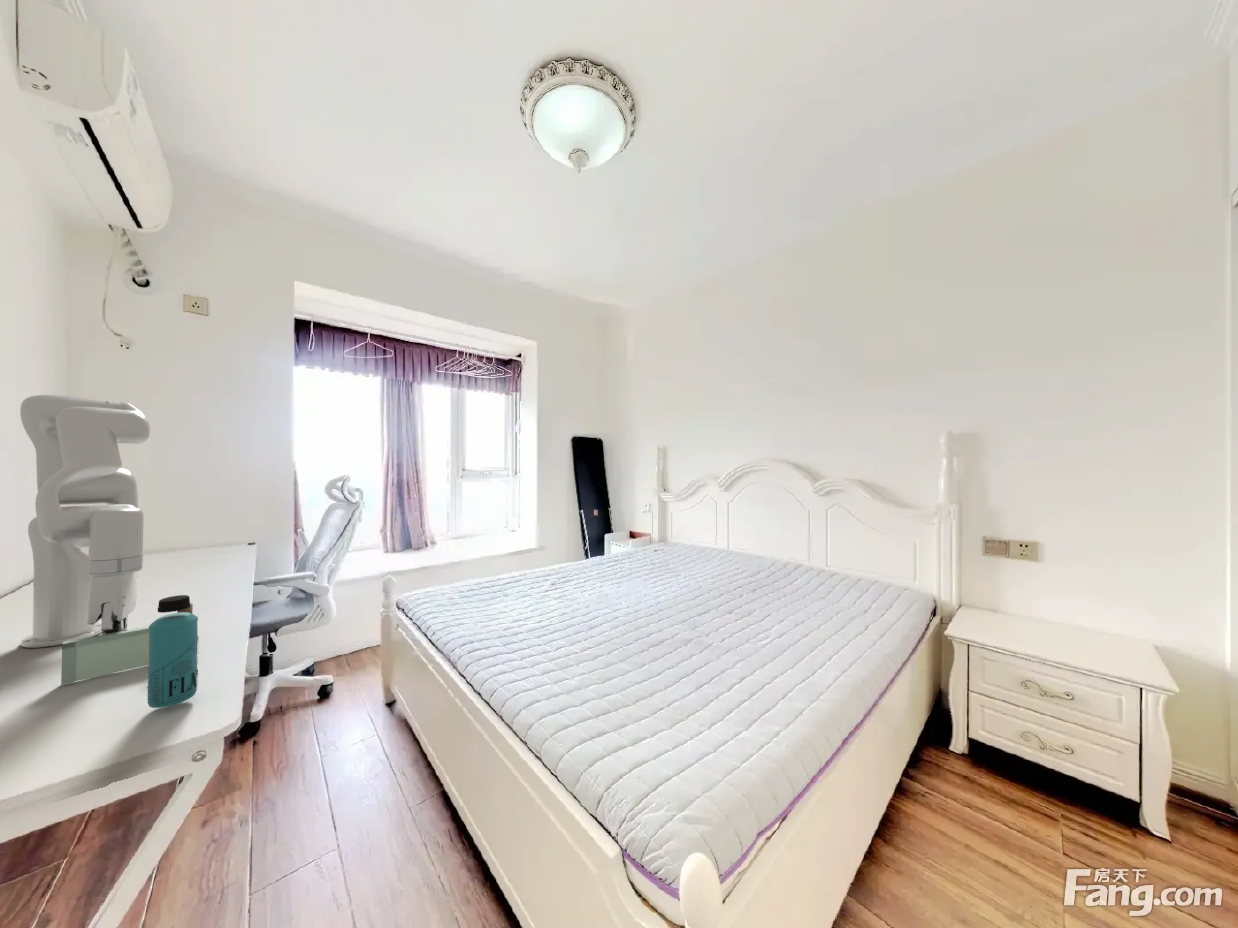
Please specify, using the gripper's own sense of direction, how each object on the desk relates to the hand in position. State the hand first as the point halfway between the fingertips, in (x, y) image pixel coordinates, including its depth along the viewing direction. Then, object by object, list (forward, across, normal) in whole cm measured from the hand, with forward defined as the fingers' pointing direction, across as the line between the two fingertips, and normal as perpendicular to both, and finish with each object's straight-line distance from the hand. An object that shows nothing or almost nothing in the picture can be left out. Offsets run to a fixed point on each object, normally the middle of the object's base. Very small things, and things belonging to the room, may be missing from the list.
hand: (114, 650), depth 90 cm
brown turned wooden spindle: (+4, +2, +11) cm, 12 cm away
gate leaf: (+3, +3, +1) cm, 5 cm away
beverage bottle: (+4, +27, +14) cm, 30 cm away
